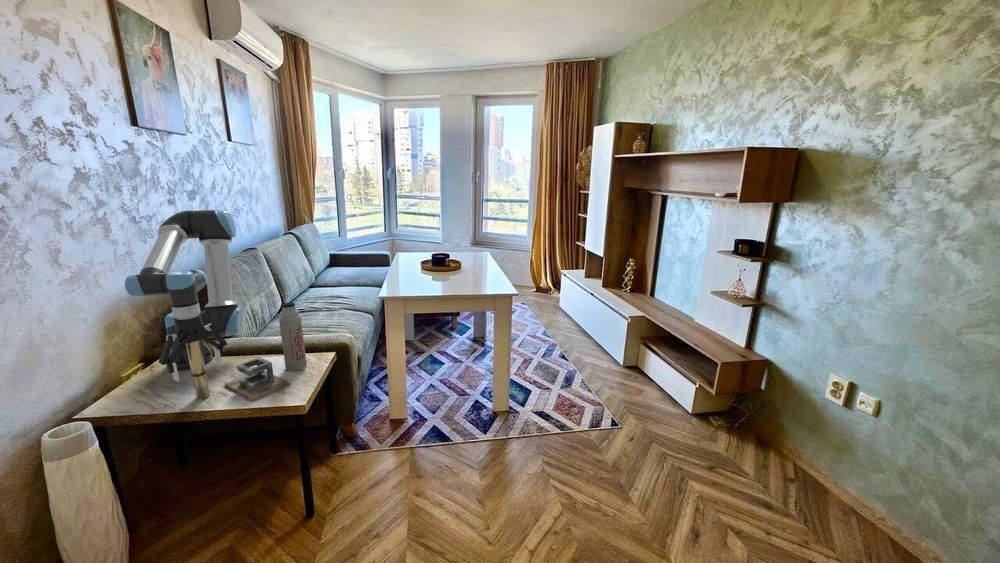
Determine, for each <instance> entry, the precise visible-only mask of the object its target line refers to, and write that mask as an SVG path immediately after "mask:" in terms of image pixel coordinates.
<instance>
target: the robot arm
mask: <svg viewBox="0 0 1000 563" xmlns="http://www.w3.org/2000/svg"><path fill="white" fill-rule="evenodd" d="M156 235H157V238H156V240H155V243H154V245H153V246H152V247H151V248H152V249H150V250H151V251H150V253H149V255H148V256H147V258H146V260H145V262H144V264H143V266H142V268H141V270H140V271H139V273H134V274H130V275H128V276H126V278H125V281H124V288H125V291H126V293H127V294H128V295H129V296H130V297H147V296H148V297H149V296H150V297H151V296H160V295H168V297H169V302H170V306H171V310H172V312H170V313H168V314H167V315H166V316H165V317H164V323H165V326H164V327H165V330H166V334H165V336H164V337H165V343H164V345H163V348H162V350H161V354H160V356H159V359H158V363H159V365H162V366H165V365H166V368H167V372H168V373H169V374H172V379H173V381H175V382H180V376H179V372H178V371H186V370H191V367H190V363H189V358H188V353H187V348H186V343H189V342H193V341H196V340H199V339H200V344H201V350H202V355H203V360H204V365H206V364H208V363H210V362H211V361H212V360H213V358H215V364H216V366H218V367H223V362H222V357H223V356H224V353H223V349H224V346H227V345H228V342H227V341H226V340H225V338H224V337H229V336H235V335H238V334H239V333H241V331H242V327H243V324H244V312H243V308H242V307H240V306H239V307H238V303H237V302H236V301H234V299H233V288H232V287H233V286H232V274H231V264H230V250H229V245H230V244H231V243H232V241H233V239H232V238H235V237H236V236H237V228H236V224H235V220H234V219H233V216H232V214H231V213H230V212H229V211H228V210H222V209H219V210H218V209H211V210H210V209H207V210H206V209H205V210H204V209H203V210H183V211H180V212H176V213H175V214H173V215H171V216H170V217H168V218H167V219H166V220H164V221H163V222H162V224H160V226H159V228H158V230H157V234H156ZM188 239H189V240H191V239H198V242H199V244H201V245H203V250H204V262H205V272H204V271H203V270H200V269H196V268H193V269H188V270H178V271H172V272H170V271H171V268H172V266H173V264H174V261H175V259H176V257H177V255H178V253H179V251H180V248H181V245H182V244H185V243H186V241H187V240H188ZM205 286H207V296H208V302H207V303H206V304H205V305H204V310H201V306H200V302H199V296H198V293H199V291H201V290H203V288H205ZM211 338H215V339H216V340H217V341H218V342H216V341H214V340H212V339H211ZM206 342H207V343H206ZM207 344H210V345H211V346H213V347H214V348H213V352H212V351H211V350H210V348H209V346H208V345H207ZM213 353H214V357H213Z"/></svg>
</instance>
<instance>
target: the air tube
mask: <svg viewBox="0 0 1000 563" xmlns="http://www.w3.org/2000/svg"><path fill="white" fill-rule="evenodd" d="M186 348H187V353H188V358H189V363H190V367H191V369H190V372H191V377H192V381H193V387H194V392H195V397H196V399H197V400H199V401H200V400H205V399H208V398H210V397H211V391H210V388H209V383H208V376H207V369H206V366H205V365H206V364H205V365H204V360H203V355H202V350H201V344H200V339H199V340H196V341H193V342H189V343H186Z"/></svg>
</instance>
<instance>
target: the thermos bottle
mask: <svg viewBox="0 0 1000 563" xmlns="http://www.w3.org/2000/svg"><path fill="white" fill-rule="evenodd" d="M280 306H281V311H280V313H279V318H278V323H279V331H280V337H281V345H282V351H283V360H284V367H285V370H286V371H287V370H288V371H287V372H298V371H302V370H303V368H304V369H305V368H307V366H308V362H307V355H306V350H305V349H306V347H305V339H304V332H303V331H304V330H303V325H302V323H303V322H302V316H301V315H300V312H299V309H296V303H295V302H292V301H289V302H284V303H282V304H281V305H280ZM301 369H302V370H301ZM297 370H298V371H297Z"/></svg>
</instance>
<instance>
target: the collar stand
mask: <svg viewBox="0 0 1000 563" xmlns="http://www.w3.org/2000/svg"><path fill="white" fill-rule="evenodd" d="M273 369H274V368H273V363H272V361H269V360H267V359H265V358H262V357H261V356H258V357H256V358H254V359H251V360H248V361H245V362H242V363H239V364H237V365H236V370H237V371H238V372H240V373H242V374H244V375H242V376H240V377H238V378H235V379H233V380H230V381H227V382H224V386H225V387H226V388H227V389H230V390H232V391H233V392H235V393H236V394H238V395H240V396H243V397H244V398H246V399H248V400H250V401H251V402H254V401H257V400H259V399H261V398H263V397H266V396H268V395H271V394H272V393H275V392H277V391H279V390H282V389H284V388H286V387H289V386H290V385H291V383H290V382H291V381H287V380H286V379H284V378H281V377H279V376H277V375H274V370H273Z"/></svg>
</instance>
